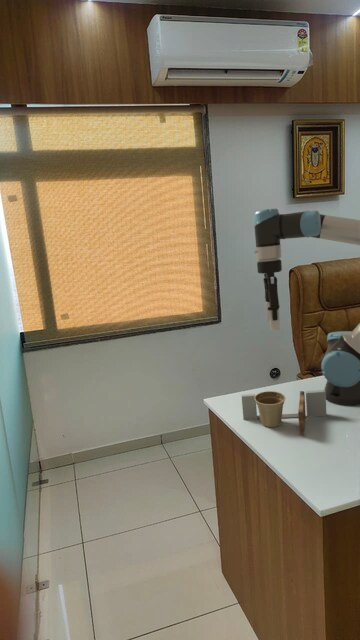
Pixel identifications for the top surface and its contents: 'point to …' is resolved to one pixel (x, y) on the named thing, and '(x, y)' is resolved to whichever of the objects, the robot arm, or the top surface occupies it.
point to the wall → (313, 407)
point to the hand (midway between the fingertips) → (273, 325)
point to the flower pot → (270, 407)
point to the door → (302, 413)
